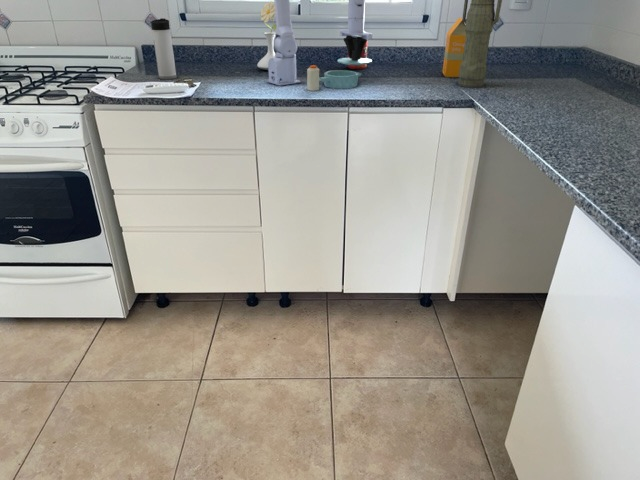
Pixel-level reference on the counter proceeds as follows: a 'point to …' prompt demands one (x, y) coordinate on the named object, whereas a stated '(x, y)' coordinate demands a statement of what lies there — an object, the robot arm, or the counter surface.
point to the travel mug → (163, 48)
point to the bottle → (313, 78)
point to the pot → (340, 79)
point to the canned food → (363, 55)
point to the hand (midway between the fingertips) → (354, 58)
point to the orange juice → (454, 49)
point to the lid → (354, 60)
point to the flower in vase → (268, 34)
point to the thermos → (477, 41)
